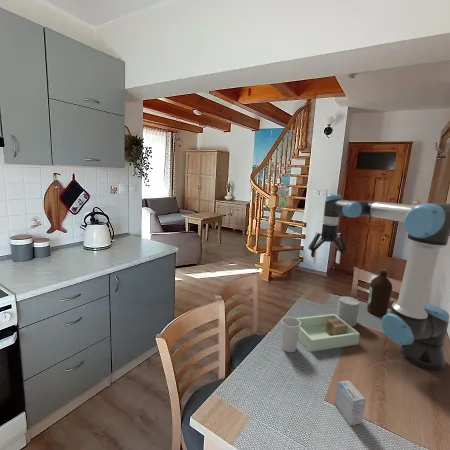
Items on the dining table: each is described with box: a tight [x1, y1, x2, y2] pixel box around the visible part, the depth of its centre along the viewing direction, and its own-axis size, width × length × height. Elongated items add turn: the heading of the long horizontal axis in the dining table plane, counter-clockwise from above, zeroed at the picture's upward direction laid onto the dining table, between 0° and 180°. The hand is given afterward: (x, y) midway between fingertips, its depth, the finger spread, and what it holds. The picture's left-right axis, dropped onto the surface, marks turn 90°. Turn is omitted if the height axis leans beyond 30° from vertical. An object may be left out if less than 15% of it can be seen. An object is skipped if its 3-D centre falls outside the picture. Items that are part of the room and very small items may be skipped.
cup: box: [280, 316, 301, 353], centre depth 116 cm, size 8×8×12 cm
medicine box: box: [333, 380, 367, 426], centre depth 85 cm, size 8×4×9 cm, turn 12°
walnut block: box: [325, 319, 347, 336], centre depth 126 cm, size 6×6×6 cm
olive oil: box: [366, 268, 393, 318], centre depth 149 cm, size 11×11×25 cm
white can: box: [336, 295, 361, 328], centre depth 138 cm, size 10×10×12 cm
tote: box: [295, 313, 361, 353], centre depth 125 cm, size 17×24×6 cm
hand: (325, 262), depth 148 cm, fingers open, 13 cm apart
